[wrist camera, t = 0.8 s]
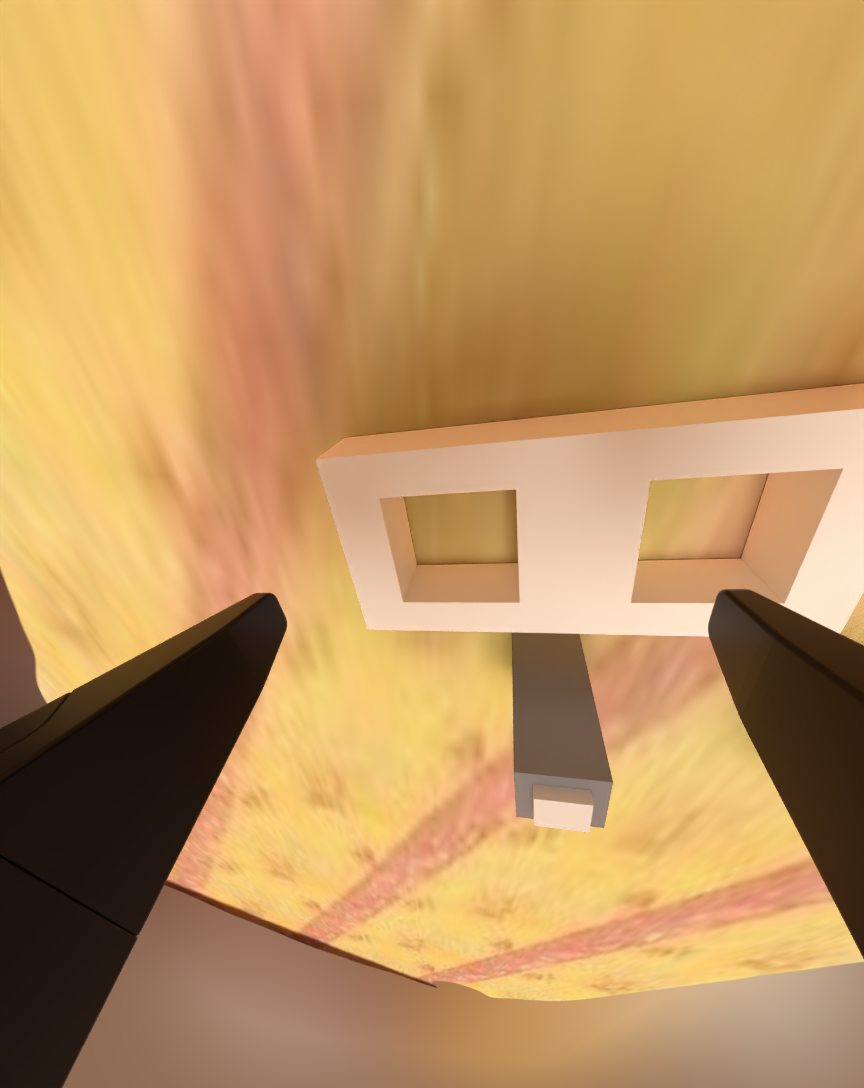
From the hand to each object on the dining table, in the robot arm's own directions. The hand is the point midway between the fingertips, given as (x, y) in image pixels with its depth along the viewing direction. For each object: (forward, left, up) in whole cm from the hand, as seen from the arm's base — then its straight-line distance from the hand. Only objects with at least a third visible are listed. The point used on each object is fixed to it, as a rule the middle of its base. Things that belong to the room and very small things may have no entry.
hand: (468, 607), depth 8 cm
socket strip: (-4, +4, -12) cm, 13 cm away
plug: (-3, +14, -12) cm, 19 cm away
